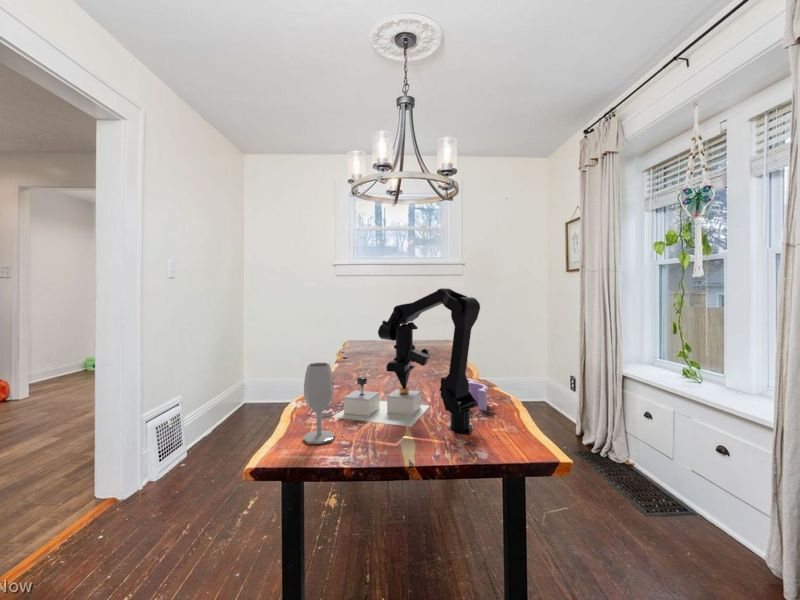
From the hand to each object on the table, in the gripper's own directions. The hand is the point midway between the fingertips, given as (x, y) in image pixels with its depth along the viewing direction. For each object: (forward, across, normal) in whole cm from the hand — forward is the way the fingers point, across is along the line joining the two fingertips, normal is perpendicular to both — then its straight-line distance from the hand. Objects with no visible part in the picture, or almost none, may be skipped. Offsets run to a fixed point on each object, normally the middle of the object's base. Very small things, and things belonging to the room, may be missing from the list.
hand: (404, 387), depth 130 cm
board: (+8, -3, +6) cm, 11 cm away
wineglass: (+9, -30, +15) cm, 35 cm away
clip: (+9, +18, -18) cm, 27 cm away
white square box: (+8, 0, 0) cm, 8 cm away
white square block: (+8, -6, +13) cm, 16 cm away
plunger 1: (+4, -6, +13) cm, 15 cm away
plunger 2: (+8, 0, 0) cm, 8 cm away
